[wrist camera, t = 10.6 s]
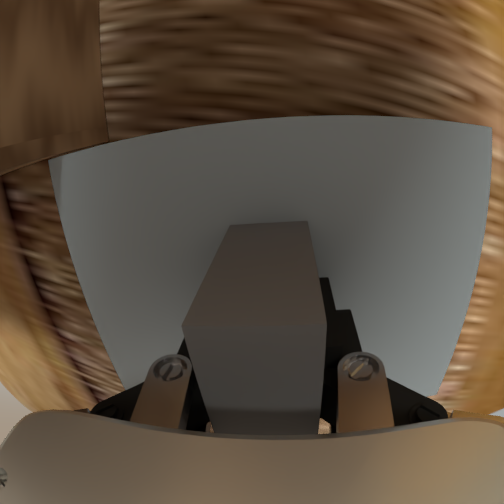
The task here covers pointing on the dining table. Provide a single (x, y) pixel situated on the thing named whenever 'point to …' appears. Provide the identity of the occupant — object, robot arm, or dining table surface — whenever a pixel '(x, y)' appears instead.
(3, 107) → the crate
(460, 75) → the dining table surface
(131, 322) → the lid
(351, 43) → the dining table surface
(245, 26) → the dining table surface
